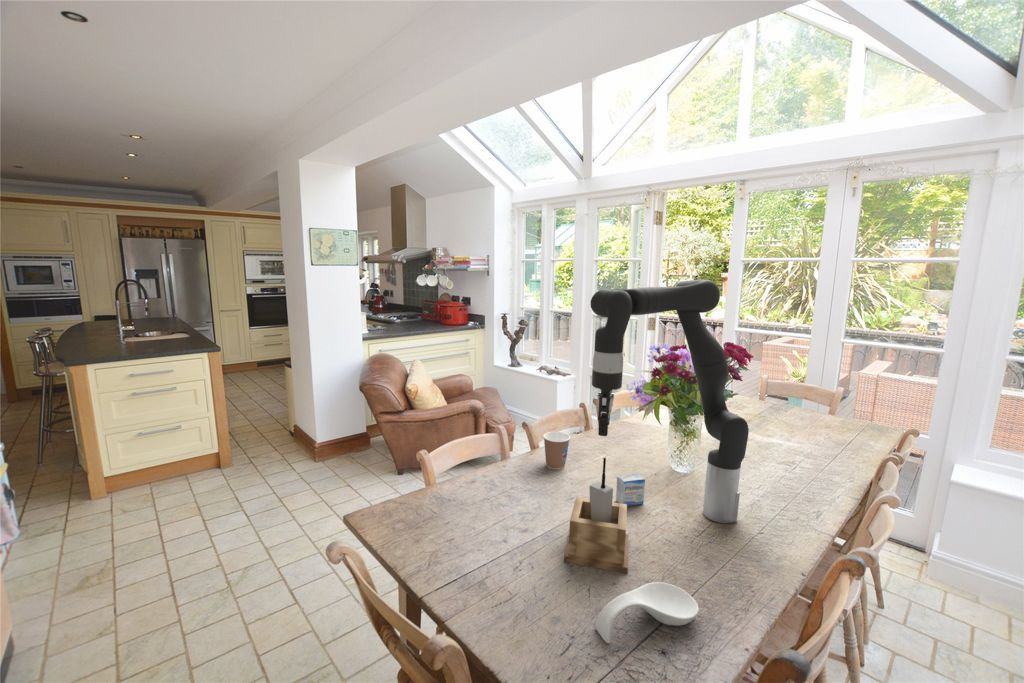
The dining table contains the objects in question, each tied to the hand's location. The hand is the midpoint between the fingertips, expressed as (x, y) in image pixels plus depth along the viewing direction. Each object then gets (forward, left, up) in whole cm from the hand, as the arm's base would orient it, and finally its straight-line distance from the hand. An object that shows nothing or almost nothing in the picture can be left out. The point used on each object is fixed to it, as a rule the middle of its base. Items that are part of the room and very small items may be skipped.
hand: (604, 429), depth 116 cm
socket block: (0, 0, -34) cm, 34 cm away
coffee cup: (+20, -49, -34) cm, 63 cm away
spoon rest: (-13, +22, -34) cm, 43 cm away
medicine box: (-8, -29, -34) cm, 46 cm away
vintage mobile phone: (0, 0, -33) cm, 33 cm away
